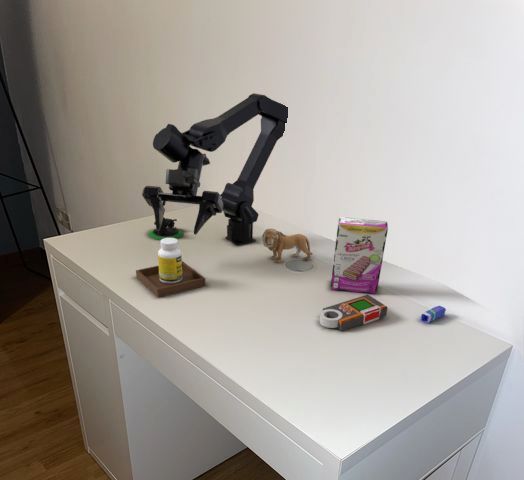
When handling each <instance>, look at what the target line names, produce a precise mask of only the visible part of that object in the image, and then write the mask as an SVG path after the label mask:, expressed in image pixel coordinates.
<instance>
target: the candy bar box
mask: <svg viewBox="0 0 524 480" xmlns="http://www.w3.org/2000/svg"><path fill="white" fill-rule="evenodd" d="M337 220H338V221H337V229H336V237H335V245H334V252H333V253H334V254H333V261H332V268H331V276H330V277H331V278H330V290H334V291H344V292H355V293H365V294H372V295H373V294H374V295H376V294H377V293H378V288H379V282H380V276H381V271H382V265H383V259H384V253H385V247H386V241H387V237H388V231H389V228H388V227H389V226H388V225H389V224H388V221H386V220H378V219H377V220H375V219H367V218H366V219H365V218H355V217H354V218H353V217H346V216H345V217H344V216H338V219H337Z"/></svg>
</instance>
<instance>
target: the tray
mask: <svg viewBox="0 0 524 480" xmlns="http://www.w3.org/2000/svg"><path fill="white" fill-rule="evenodd" d="M135 276H136V279H137V280H138V281H139V282H140V283H141V284H143V285H144V286H145V288H147V289H148V290H149V291H150V292H151V293H152V294H153V295H155V297H157V298H162V297H166V296H169V295H170V296H171V295H174V294H177V293H182V292H185V291H190V290H194V289H198V288H199V289H200V288H202V287H206V278H205V277H204V276H203V275H202V274H201V273H199V272H198V271H196V270H195V269H194V268H192V267H191V266H190V265H188V264H187V263H186V262H184V261H183V260H182V280H181V281H180V282H178V283H174V284H167V283H163V282H161V281H160V278H159V264H158V265H154V266H149V267H145V268H140V269H136V270H135Z"/></svg>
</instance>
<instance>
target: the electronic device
mask: <svg viewBox="0 0 524 480" xmlns="http://www.w3.org/2000/svg"><path fill="white" fill-rule="evenodd" d="M387 313H388V306H387V305H385V304H384V303H383V302H381V301H379V300H377V299H376V298H375V297H373V296H371V295H370V294H369V293H366V294H365V295H361V296H358V297H354V298H352V299H349V300H346V301H342V302H339V303H337V304H333V305H330V306H326V307H323V308H322V311H320V313H319V324H320V325H321V326H322V327H324V328H327V329H335V328H336V329H337V330H339V331H340V332H343V331H346V330H349V329H351V328H354V327H357V326H360V325H366V324H369V323H373V322H376V321H377V320H380V319H381V318H383V317H386V316H387Z"/></svg>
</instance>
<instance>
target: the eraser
mask: <svg viewBox="0 0 524 480" xmlns="http://www.w3.org/2000/svg"><path fill="white" fill-rule="evenodd" d="M446 310H447V309H446V307H444V306H442V305H437V306H434V307H432V308H430V309H428V310H425V311H424V312H422V313H421V315H420V321H422V322H424V323H426V324H429V323H431V322H433V321H435V320H437V319H439V318H442V317H444V316H445V315H446Z"/></svg>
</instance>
